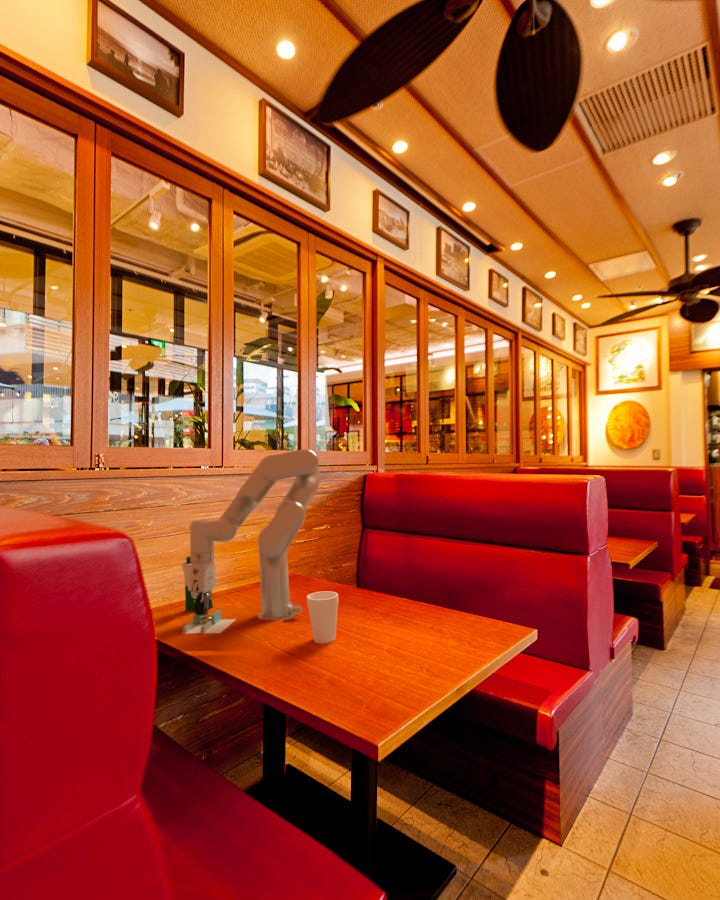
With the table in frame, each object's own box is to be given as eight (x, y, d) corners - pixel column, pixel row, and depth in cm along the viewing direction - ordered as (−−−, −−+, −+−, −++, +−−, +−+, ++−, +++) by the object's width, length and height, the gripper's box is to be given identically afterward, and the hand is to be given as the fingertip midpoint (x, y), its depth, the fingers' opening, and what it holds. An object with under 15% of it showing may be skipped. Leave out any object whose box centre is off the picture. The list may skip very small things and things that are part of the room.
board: (236, 622, 167) (235, 610, 167) (220, 636, 154) (220, 623, 154) (199, 623, 168) (198, 610, 169) (181, 637, 156) (180, 623, 156)
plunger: (215, 617, 167) (215, 615, 167) (210, 621, 163) (210, 619, 163) (204, 617, 168) (203, 615, 168) (198, 621, 164) (198, 619, 164)
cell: (209, 612, 167) (211, 590, 167) (205, 615, 163) (206, 593, 164) (199, 611, 167) (200, 589, 168) (195, 615, 164) (196, 592, 164)
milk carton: (196, 606, 189) (194, 554, 189) (216, 607, 186) (214, 554, 186) (181, 613, 180) (178, 559, 181) (202, 615, 178) (199, 559, 178)
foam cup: (346, 636, 149) (344, 593, 149) (329, 647, 141) (326, 601, 141) (320, 632, 154) (318, 590, 154) (302, 642, 146) (300, 598, 146)
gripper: (202, 561, 157) (202, 620, 157) (222, 552, 174) (223, 605, 173) (179, 561, 158) (179, 619, 158) (202, 552, 175) (202, 604, 174)
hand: (202, 611), depth 165 cm, fingers closed on cell, 3 cm apart
